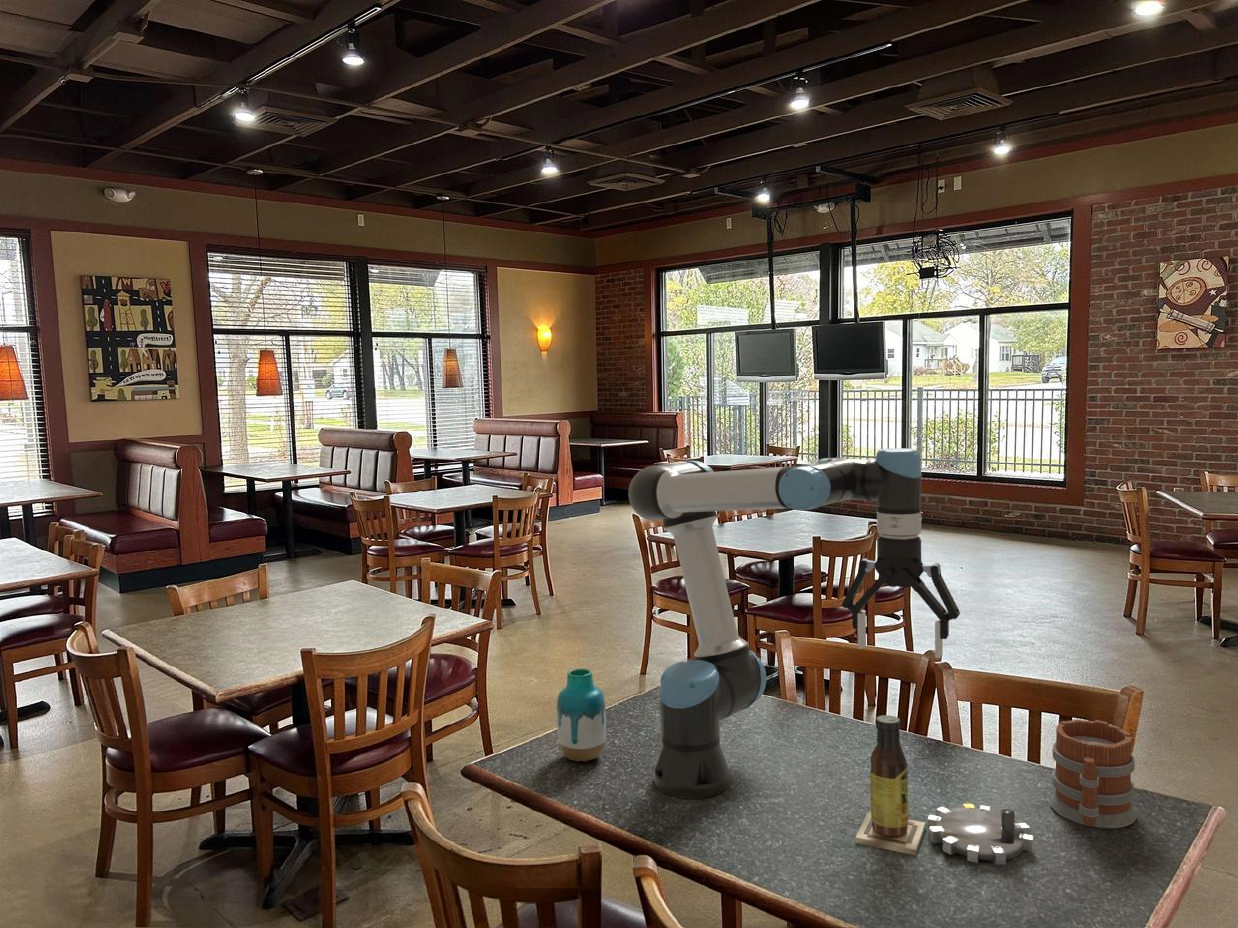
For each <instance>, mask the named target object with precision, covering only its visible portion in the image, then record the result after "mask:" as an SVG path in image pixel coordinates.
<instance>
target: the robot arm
mask: <svg viewBox="0 0 1238 928" xmlns="http://www.w3.org/2000/svg"><path fill="white" fill-rule="evenodd" d="M920 456H921V455H920V453H919V451H918V450H916V449H914V448H905V447H904V448H901V447H900V448H899V447H898V448H881V449H879V450H878V451H877V452H876V457H875V458H874V459H863V458H859V459H858V458H842V457H829V458H828V457H825V458H821V459H819V460H818V461H817V463H812V464H805V465H793V466H792V465H791V466H777V467H767V468H751V469H750V468H749V469H748V468H747V469H739V470H738V469H737V470H722V471H714V470H713V469H712V467H710V466H709V465H707V464H706V463H704V462H701V461H698V460H686V459H684V460H679V461H674V462H668V463H662V464H654V465H653V464H652V465H649V466H646V467H644V468H641V469H640V470H639V471H638V472H637V473H635V475H634V476H633V478H632V479H631V481H630V483H629V486H628V495H627V496H628V501H629V504H630V506H631V508H632V510H633V511H634V512H635V513H636V514H637V515H638V516H639V517H641V518H642V519H645V520H648V521H651V522H652V521H653V522H660V521H662V524H663V527H664V530H665V531H667V532H668V533H670V534H671V535H672V536H673V539H674V544H675V548H676V552H677V557H678V560H679V561H678V562H679V565H680V569H681V572H682V578H683V582H684V587H685V591H686V594H687V598H688V603H689V607H690V610H691V616H692V620H693V624H694V628H695V633H696V637H697V642H698V647H697V648H696V651H695V652H694V654H693V655H694V659H690V660H687V661H680V662H676V663H674V664H672V665H670V666H669V667H667V668H666V669H665V670H664V671H663V673H662V674H661V676H660V683H659V690H658V691H659V692H658V693H659V703H660V705H659V706H660V707H659V708H660V728H661V729H660V730H661V747H660V750H659V753H658V756H657V761H656V764H655V766H654V770H653V780H654V781H653V782H655V783H654V786H655V785H656V786H657V787H656V786H655V787H656V788H657V789H658V790H659V791H660V792H662V793H664V794H665V793H666V794H665V795H668V796H671V797H674V796H677V797H676V798H679V797H683V798H682V799H688V798H691V800H693V799H696V800H697V799H705V798H711V797H714V796H717V795H719V794H721V793H722V792H723V793H724V791H725V790H727V789H728V787H729V786H730V769H729V766H728V763H727V761H726V758H725V755H724V752H723V749H722V747H721V742H720V741H721V740H720V739H721V738H720V734H721V733H720V722H721V721H723V720H725V719H727V718H729V717H731V716H733V715H735V714H736V713H738V712H741V711H745V710H746V709H748V708H749V707H751V706H752V705H753V704H754V703H756V702H757V701H758V700H760V699H761V697H762V695H763V694H764V692H765V690H766V684H767V672H766V667H765V665H764V663H763V661H762V660H761V658H760V657H757V654H756V653H755V652H754V651H752V650H750V647H749V643H748V641H746V640H745V639H743V638H742V637H740V635H739V632H738V629H737V625H736V624H737V623H736V620H735V615H734V611H733V608H732V604H731V599H730V594H729V592H728V587H727V583H726V578H725V575H724V573H725V572H724V570H723V567H722V561H721V557H720V554H719V553H720V552H719V550H718V549H719V548H718V546H717V540H716V536H715V532H714V528H713V525H714V523H715V521H716V520H717V518H718V515H717V512H725V511H726V512H728V511H732V512H733V511H750V510H751V511H753V510H757V511H758V510H779V509H781V510H782V509H792V510H795V511H800V512H801V511H810V510H811V511H812V510H815V509H818V508H820V507H823V506H827V505H833V504H836V503H840V502H844V501H847V500H848V501H850V500H857V501H870V502H871V501H872V502H873V501H876V528H877V529H876V532H877V533H878V534H879V535H878V536H877V538H876V543H877V544H876V555H877V556H876V560H870V559H869V558H867V557H864V558H863V559H862V560H860V561H859V563H858V571H857V574H856V576H855V578H854V580H853V581H852V584H851V585H850V587H849V589H848V591H847V593H846V594H845V595H846V596H844V599H843V601H842V603H841V606H842V608H843V609H847V610H849V611H850V612H851V616H852V618H851V622H852V624H851V625H852V628H853V630H857V649H860V650H863V648H865V646H866V645H867V623H866V622H867V618H866V617H867V616H866V615H867V611H866V610H864V609H862V608H863V607H864V606H865V605H866V604H867V603H868V602H869V601H870V599H872V598H873V597H874V595H875V594H877V593H878V591H879V590H880V589H881V588H882V587H883V586H884V585H887V586H888V587H889V588H897V587H899V588H902V589H908V588H910V587H911V588H912V590H913V591H914V592H915V593H917V594H918V595H919V596H920V598H921V599H922V600H923V601H924V603H925V604H926V605H927V606H928V608H929V609H930V611H932V613H934V614H935V616H936V617H937V619H936V620H935V621H934V658H935V659H940V658H941V657H942V656H943V655H944V651H943V647H944V645H943V641H944V640H947V639H948V637H949V635H950V633H949V632H950V629H949V628H950V621H951V620H957V618H958V617H960V615H961V611H960V609H959V607H958V606H957V603H956V602H955V599H954V597H953V596H952V593H951V592H950V589H949V588H948V585H947V584H946V582H945V580H944V577H943V576H942V571H941V564H940V563H939V562H938V563H937V562H935V563H934V564H924V563H923V562H922V561H923V560H922V538H921V536H919V535H921V533H922V506H921V503H922V477H923V474H922V468H921V467H922V466H921V457H920ZM873 568H874V569H875V571H876V572H877V574H878V575H879V577H878V578H877V580H876V581H875V582H874V583H873V584H872V586H871V587H870V588H868V590H867V591H866V592H865V593H864V594H863V595H862V596H861V597H860V598H859V599H858V600H857V601H856V602H855V601H854V600H855V598H856V596H857V594H858V592H859V590H860V588H861V587H862V584H863V583H864V581H865V579H866V577H867V575H868V574H869V573H870V572H871V571H872V570H873ZM923 573H926V575H927V577H928V578H931V581H932V583H933V586H934V587H935V589H936V591H937V594H938V595H939V597H940V599H941V600H942V603H943V605H944V606H943V605H942V604H941V602H940V601H939V600H938V599H937V598H936V597H935V595H934V594H933V593H932V591H931V590H930V589H929V588H928V587H927V585H926V584H925V582H924V581H923V580H922V578H921V577H920V576H921V575H922V574H923Z"/></svg>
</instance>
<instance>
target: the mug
mask: <svg viewBox="0 0 1238 928" xmlns="http://www.w3.org/2000/svg"><path fill="white" fill-rule="evenodd" d="M1055 728H1056V729H1055V732H1056V733H1055V737H1056V739H1055V741H1054V743H1053V744H1052V759H1053V761H1055V768H1054V769H1053V771H1052V773H1051V774H1052V780H1051V781H1052V782H1051V783H1052V785H1053V787H1054V792H1053V793H1052V794H1051V796H1050V797H1049V802H1048V803H1049V805H1050V807H1051V809H1053V810H1054V811H1055V812H1056V813H1057V814H1058V815H1059V816H1061V817H1062V818H1063V819H1066V820H1068V821H1069V822H1072V823H1074V824H1077V825H1081V826H1084V827H1089V828H1095V829H1104V830H1116V829H1122V828H1125V827H1128V826H1130V825H1132V824H1133V823H1135V822H1136V819H1137V816H1138V815H1137V813H1136V811H1135V809H1134V807H1133V806H1132V803H1131V801H1133V799H1134V797H1135V785H1134V782H1133V781H1132V773H1133V772H1134V771H1135V768H1136V767H1135V764H1136V762H1135V760H1136V758H1135V755H1134V754H1133V752H1132V735H1131V733H1130V732H1128V731H1126V730H1124V729H1123V728H1121V727H1120V726H1117V725H1112V724H1110V722H1107V721H1104V720H1103V721H1102V720H1097V719H1094V721H1093V720H1084V719H1083V720H1082V719H1073V720H1067V721H1066V720H1063V721H1060V722H1059V723H1058V724H1057V726H1056V727H1055Z"/></svg>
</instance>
